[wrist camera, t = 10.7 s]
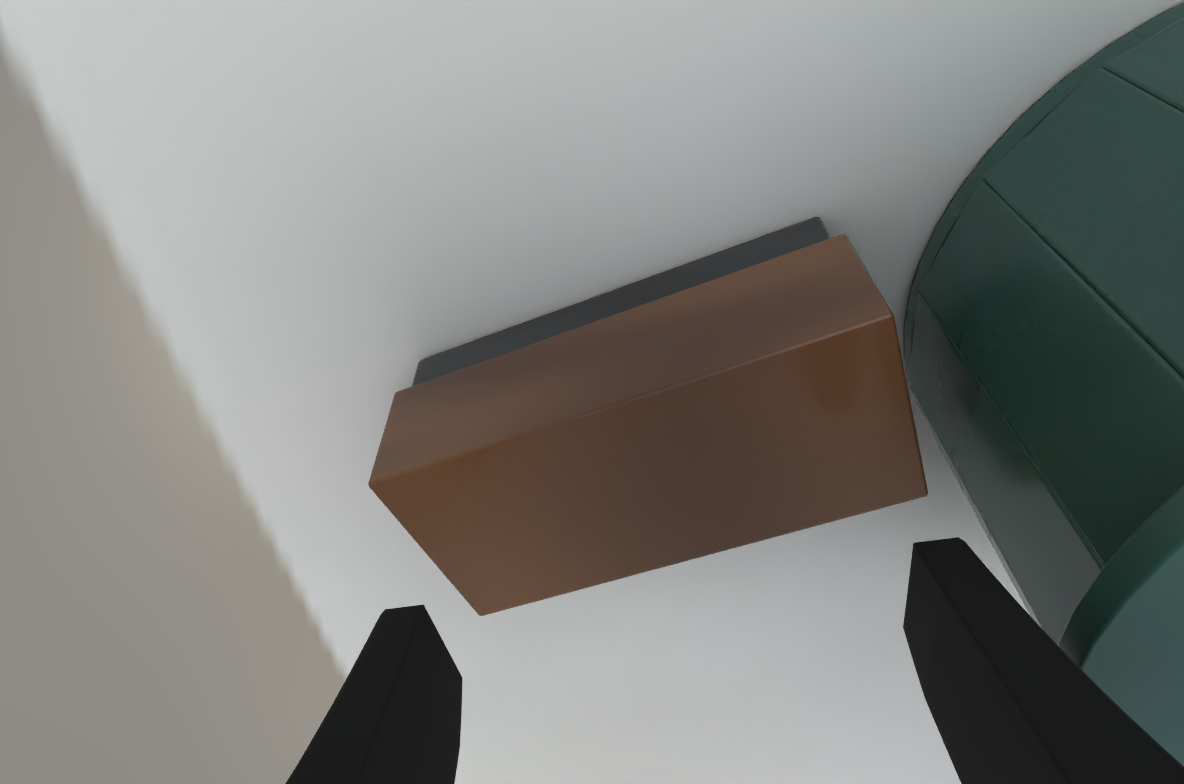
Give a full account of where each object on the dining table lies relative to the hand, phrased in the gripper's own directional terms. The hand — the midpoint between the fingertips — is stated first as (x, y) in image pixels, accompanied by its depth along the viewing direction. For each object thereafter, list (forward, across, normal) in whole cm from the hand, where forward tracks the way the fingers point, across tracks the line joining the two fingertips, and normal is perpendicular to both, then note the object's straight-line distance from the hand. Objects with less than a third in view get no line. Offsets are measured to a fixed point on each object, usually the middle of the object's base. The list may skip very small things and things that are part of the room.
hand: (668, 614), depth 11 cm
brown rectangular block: (+6, 0, 0) cm, 6 cm away
